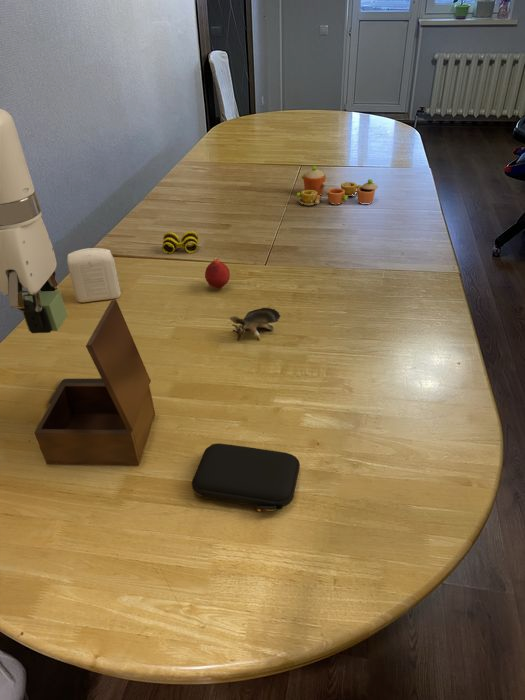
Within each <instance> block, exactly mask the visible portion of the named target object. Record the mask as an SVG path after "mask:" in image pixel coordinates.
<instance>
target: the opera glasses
mask: <svg viewBox="0 0 525 700" xmlns="http://www.w3.org/2000/svg"><path fill="white" fill-rule="evenodd" d="M198 244H199V234H198V233H197V232H195V231H192V230H191V231H186V232H184V233H183V234H182V236H181V238H179V236H178V235H177V234H176V233H174V232H171V231H169V232H165V233H164V234H163V237H162V246H161V250H162V251H163V253H165V254H167V253H169V254H168V255H172V254H174V252H175V251H176V250H177V249H178V248H179V249H180V248H183V249H184V250H185V252H186V253H188V254H193V253H196V252H197V251H198V248H199V247H198Z"/></svg>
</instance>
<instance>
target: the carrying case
mask: <svg viewBox="0 0 525 700" xmlns="http://www.w3.org/2000/svg"><path fill="white" fill-rule="evenodd" d="M198 463H199V464H198V466H197V468H196V470H195V473H194V475H193V477H192V480H191V488H192V490H193V492H194V493H195V494H196V495H198V496H200V497H201V499H210V500H217V501H221V502H222V501H223V502H228V503H235V504H240V505H241V504H242V505H246V506H253V507H254V511H255V512H257V513H265V512H276V511H277V510H282V509H283V508H285V507H287V506H289V505H290V504H291V503H292V502H293V500H294V496H295V493H296V486H297V483H298V479H299V478H298V477H299V474H300V473H299V472H300V468H301V464H300V461H299V459H298V458H297V457H296V456H295V455H293V454H292V453H289V452H285V451H278V450H270V449H264V448H258V447H250V446H243V445H236V444H227V443H219V442H218V443H212V444H210V445H209V446H207V447H206V448H205V449H204V451H203V454H202V456H201V458H200V461H199V462H198Z"/></svg>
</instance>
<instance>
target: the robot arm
mask: <svg viewBox="0 0 525 700" xmlns="http://www.w3.org/2000/svg"><path fill="white" fill-rule="evenodd" d="M42 216H43V213H42V209H41V207H40V203H39V200H38V197H37V193H36V191H35V185H34V184H33V179H32V176H31V173H30V170H29V167H28V163H27V160H26V157H25V153H24V150H23V147H22V143H21V140H20V137H19V134H18V130H17V127H16V124H15V122H14V119H13V117H12V115H11V114H10V113H9V112H8V111H7V110H5V109H3V108H0V292H1V294H2V295H4V296H5V297H6V296H7V297H8V305H9V308H11V309H12V308H14V309H17V310H19V312H20V313H22V312H23V313H24V316H25V319H26V321H27V324H28V327H29V330H30V331H29V330H28V331H29V332H30V333H32V334H49V333H51V332H52V331H51V330H52V328H51V325H50V322H49V319H48V316H47V313H46V310H45V308H42V306H41V301H40V296H39V291H58V287H59V285H58V282H57V280H56V269H57V266H58V265H57V264H58V263H57V258H56V254H55V249H54V246H53V244H52V241H51V238H50V235H49V232H48V230H47V227H46V225H45V223H44V219H43V218H42ZM23 288H24V289H23ZM28 296H32V299H33V302H32V301H30V300H25V299H26V297H28ZM23 313H22V314H23ZM24 316H23V317H24ZM25 319H24V320H25ZM26 321H25V322H26ZM27 324H26V325H27ZM28 327H27V328H28Z"/></svg>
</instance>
